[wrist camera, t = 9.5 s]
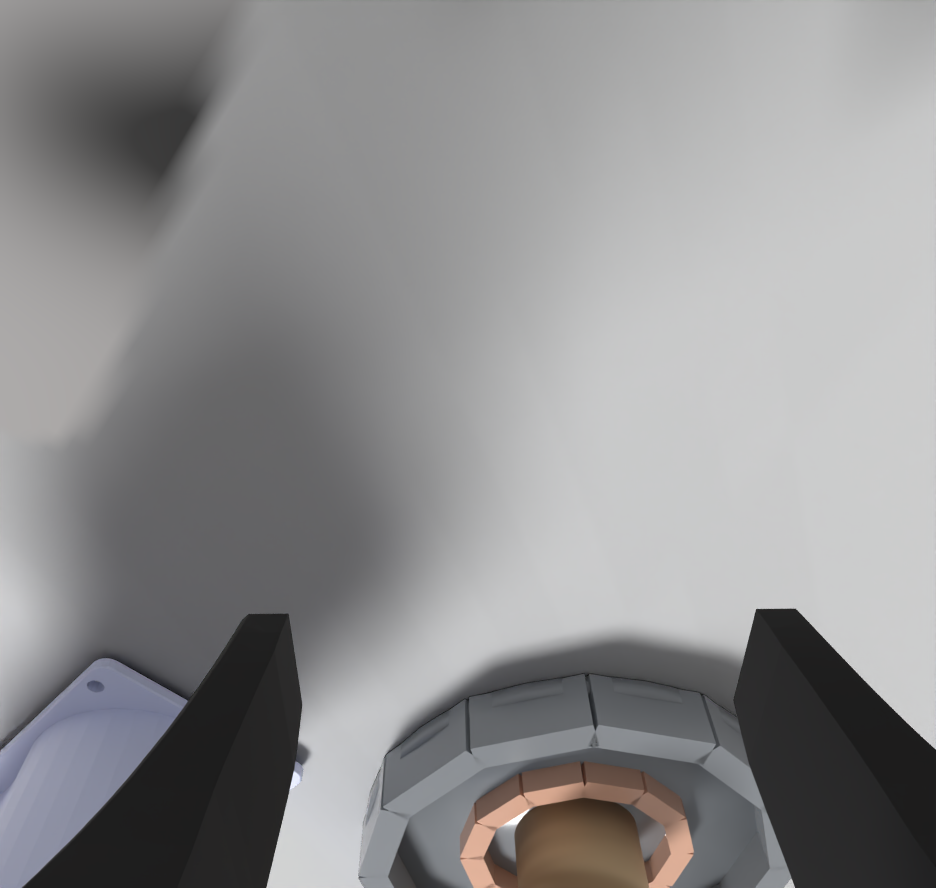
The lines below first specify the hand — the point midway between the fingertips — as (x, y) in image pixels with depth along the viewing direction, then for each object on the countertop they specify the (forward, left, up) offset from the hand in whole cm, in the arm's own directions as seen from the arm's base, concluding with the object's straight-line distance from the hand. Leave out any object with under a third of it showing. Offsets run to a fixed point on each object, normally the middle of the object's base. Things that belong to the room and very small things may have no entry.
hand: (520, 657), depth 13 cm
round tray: (-11, -15, -10) cm, 21 cm away
